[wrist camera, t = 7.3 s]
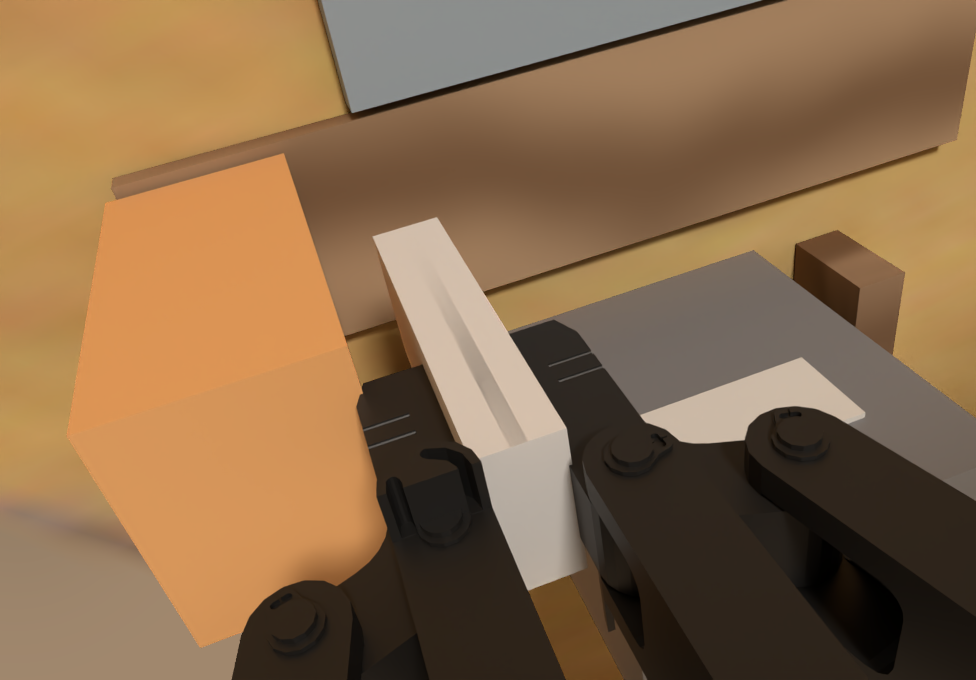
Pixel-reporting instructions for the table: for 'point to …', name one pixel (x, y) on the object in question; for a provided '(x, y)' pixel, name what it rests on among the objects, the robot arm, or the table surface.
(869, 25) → the cradle
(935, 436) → the block
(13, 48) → the table surface
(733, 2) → the mat
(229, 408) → the orange rectangular block
